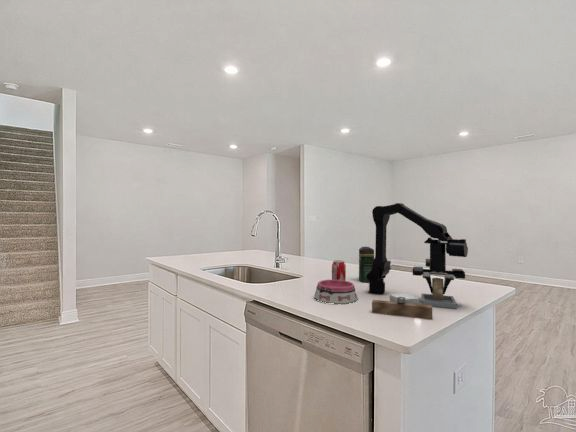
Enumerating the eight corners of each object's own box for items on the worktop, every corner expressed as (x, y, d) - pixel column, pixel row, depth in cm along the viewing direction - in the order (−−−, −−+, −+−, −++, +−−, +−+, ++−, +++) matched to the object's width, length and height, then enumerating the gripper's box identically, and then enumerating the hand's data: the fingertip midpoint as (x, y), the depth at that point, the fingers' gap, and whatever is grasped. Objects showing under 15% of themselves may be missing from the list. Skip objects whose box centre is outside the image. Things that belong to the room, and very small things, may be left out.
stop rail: (372, 312, 112) (371, 296, 112) (373, 310, 115) (373, 294, 115) (432, 319, 104) (432, 301, 104) (432, 316, 107) (431, 299, 107)
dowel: (432, 299, 122) (432, 279, 122) (432, 297, 126) (432, 277, 126) (443, 300, 121) (443, 280, 121) (442, 298, 125) (442, 278, 125)
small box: (407, 305, 121) (407, 292, 121) (419, 311, 113) (419, 298, 113) (389, 307, 119) (389, 294, 119) (400, 313, 112) (400, 299, 112)
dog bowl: (365, 298, 132) (365, 282, 132) (342, 308, 119) (342, 290, 119) (330, 291, 145) (330, 276, 145) (305, 299, 131) (305, 283, 131)
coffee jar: (375, 283, 161) (375, 247, 161) (360, 282, 162) (360, 247, 162) (372, 279, 171) (372, 245, 171) (358, 278, 172) (357, 245, 172)
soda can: (345, 286, 154) (345, 262, 154) (331, 285, 156) (331, 262, 156) (345, 283, 161) (345, 260, 161) (332, 282, 162) (332, 260, 162)
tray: (421, 305, 120) (421, 300, 120) (421, 298, 131) (421, 293, 131) (456, 309, 116) (456, 303, 116) (453, 301, 127) (453, 296, 127)
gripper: (461, 253, 127) (461, 291, 127) (412, 251, 134) (412, 287, 134) (465, 257, 117) (465, 297, 117) (412, 254, 124) (412, 293, 124)
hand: (437, 293), depth 123 cm, fingers closed on dowel, 4 cm apart
